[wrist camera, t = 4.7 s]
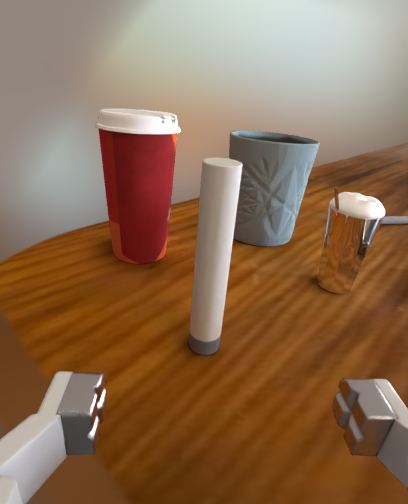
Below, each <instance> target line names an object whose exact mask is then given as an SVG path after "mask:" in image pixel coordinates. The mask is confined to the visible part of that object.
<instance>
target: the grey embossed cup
mask: <svg viewBox="0 0 408 504" xmlns="http://www.w3.org/2000/svg"><path fill="white" fill-rule="evenodd" d="M318 147H319V142H318V141H315V140H312V139H308V138H303V137H299V136H293V135H287V134H280V133H271V132H260V131H233V132H231V133H230V150H229V151H230V152H229V158H230V159H233V160H237V161H239V162H241V163H242V173H241V181H240V189H239V197H238V204H237V212H236V220H235V228H234V236H233V238H234V239H236V240H238V241H240V242H243V243H247V244H251V245H256V246H279V245H283V244H285V243H287V242H288V241H289V240H290V238H291V236H292V233H293V229H294V226H295V219H296V217H297V216H298V211H299V209H300V205H301V201H302V199H303V196H304V191H305V187H306V185H307V178H308V176H309V174H310V171H311V168H312V165H313V162H314V159H315V156H316V153H317V150H318Z"/></svg>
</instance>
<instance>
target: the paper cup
mask: <svg viewBox="0 0 408 504" xmlns="http://www.w3.org/2000/svg"><path fill="white" fill-rule="evenodd" d="M177 125H178V124H177V117H176V115H175V114H171V113H166V112H159V111H150V110H138V109H102V110H100V112H99V117H98V122H96V123H95V127H97V128H99V135H100V144H101V153H102V161H103V171H104V180H105V189H106V198H107V206H108V215H109V224H110V232H111V240H112V247H113V252H114V255H115V257H116V258H118V259H119V260H121V261H124V262H128V263H134V264H144V263H151V262H154V261H157V260H159V259H161V258H162V257H163V256H164V255H165V252H166V245H167V237H168V227H169V217H170V207H171V196H172V185H173V174H174V164H175V153H176V142H177V133H179V132H180V131H181V130H180V127H178V126H177Z"/></svg>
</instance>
